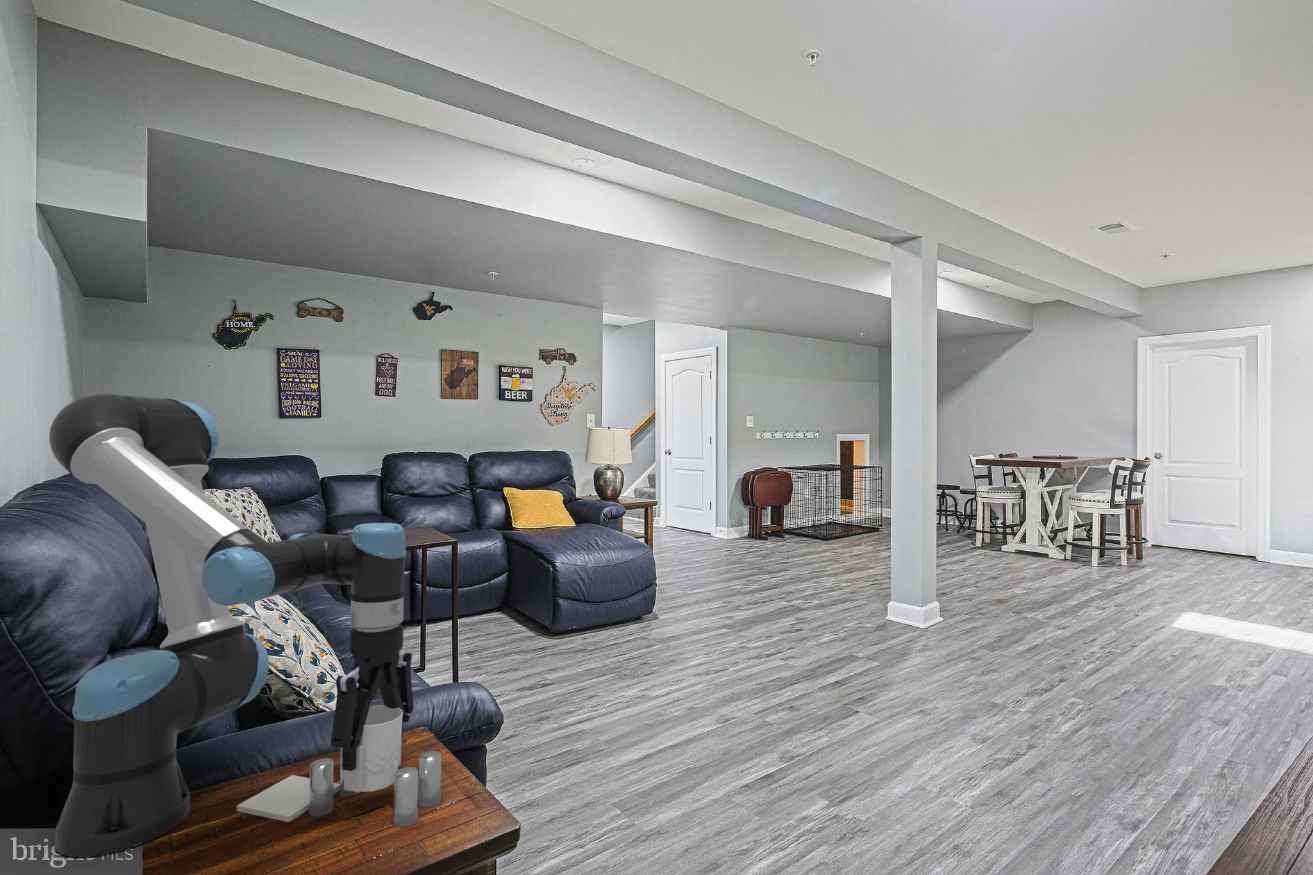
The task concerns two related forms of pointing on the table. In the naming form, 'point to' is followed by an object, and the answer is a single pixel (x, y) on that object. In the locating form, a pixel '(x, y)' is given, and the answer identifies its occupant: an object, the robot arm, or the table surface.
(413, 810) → the spacer posts
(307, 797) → the coaster
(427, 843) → the table surface
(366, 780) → the white cup
